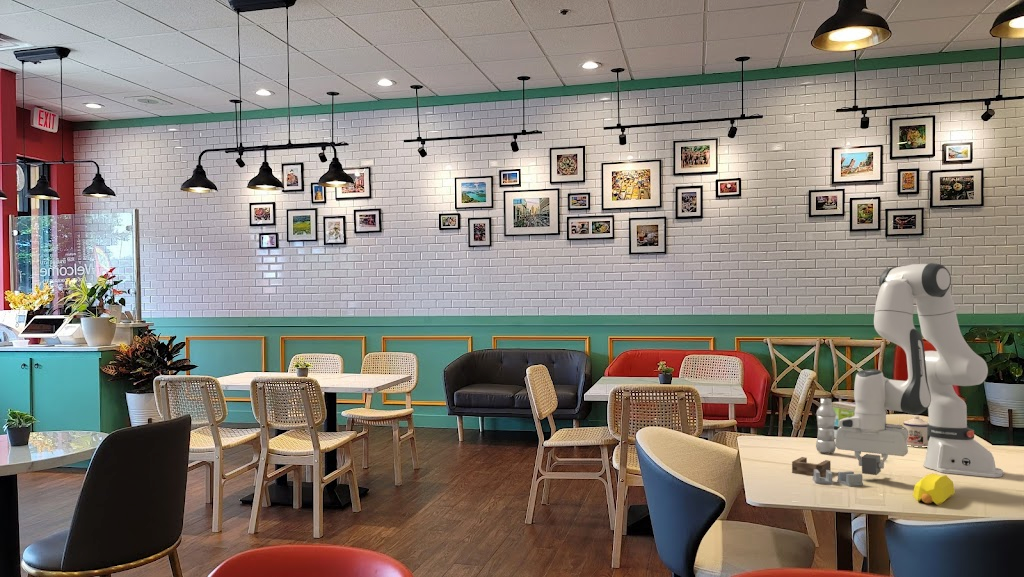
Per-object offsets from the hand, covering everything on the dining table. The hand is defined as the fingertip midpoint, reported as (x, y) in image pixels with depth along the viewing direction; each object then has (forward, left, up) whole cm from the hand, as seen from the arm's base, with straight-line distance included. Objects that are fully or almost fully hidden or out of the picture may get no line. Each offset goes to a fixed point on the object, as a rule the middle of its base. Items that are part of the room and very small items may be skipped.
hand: (871, 467), depth 227 cm
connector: (0, -2, -2) cm, 3 cm away
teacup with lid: (0, -75, -4) cm, 76 cm away
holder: (+18, +2, -4) cm, 18 cm away
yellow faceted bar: (-19, +15, -4) cm, 25 cm away
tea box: (+25, -73, -4) cm, 78 cm away
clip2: (+11, +14, -4) cm, 18 cm away
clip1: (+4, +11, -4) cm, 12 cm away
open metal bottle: (+24, -35, -4) cm, 43 cm away
